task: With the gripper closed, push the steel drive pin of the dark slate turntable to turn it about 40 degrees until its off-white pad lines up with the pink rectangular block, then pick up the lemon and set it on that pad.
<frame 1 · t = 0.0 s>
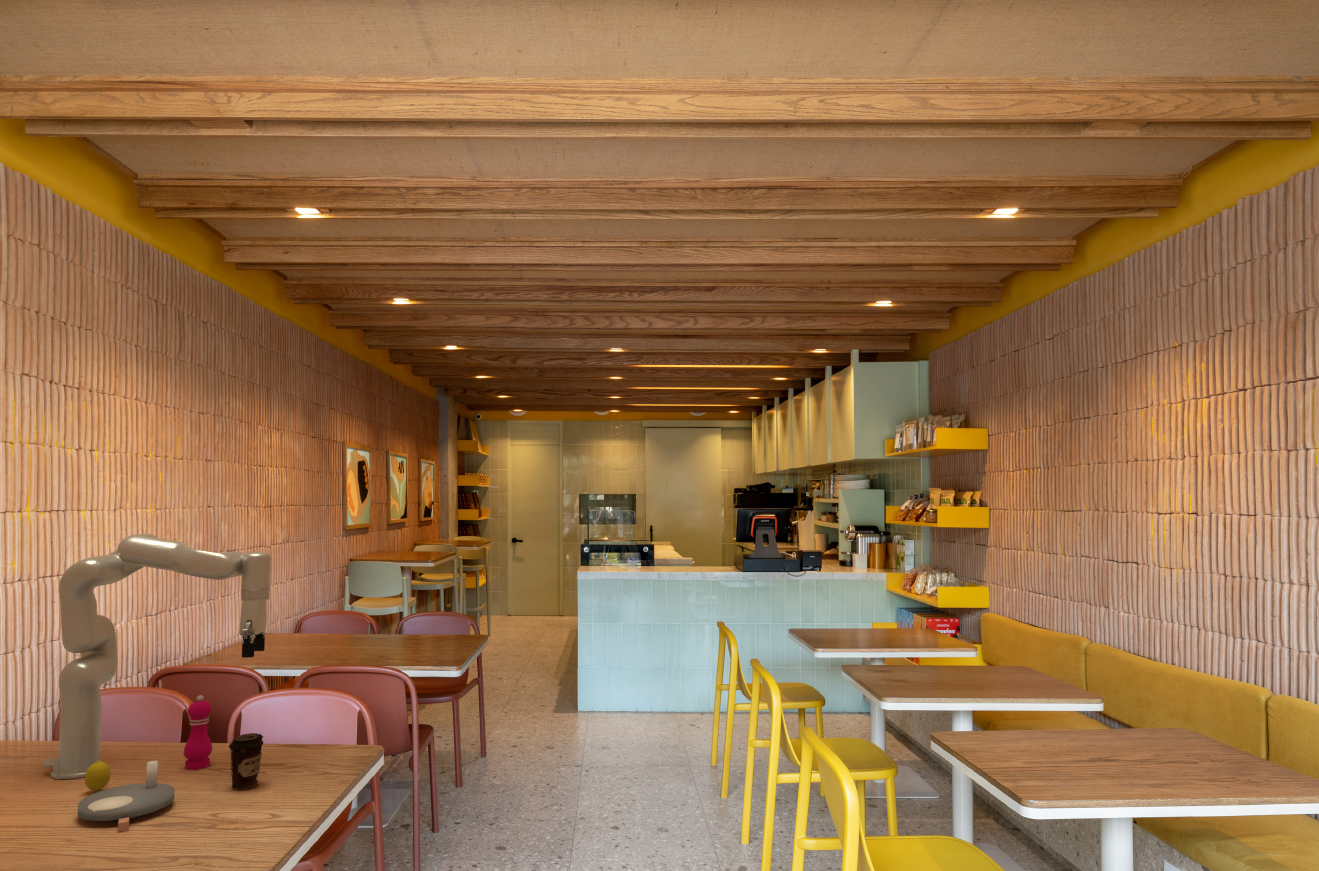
hand: (253, 654, 242), 31 cm above the table, tool pointing down, fingers open, 9 cm apart
coffee cup: (245, 787, 221), on the table
pepper mill: (197, 767, 238), on the table
lemon: (96, 792, 217), on the table
turntable base: (126, 811, 204), on the table
pink rectangular block: (123, 829, 193), on the table
turntable: (127, 788, 204), point 5 cm above the table, hinge at 0.0°
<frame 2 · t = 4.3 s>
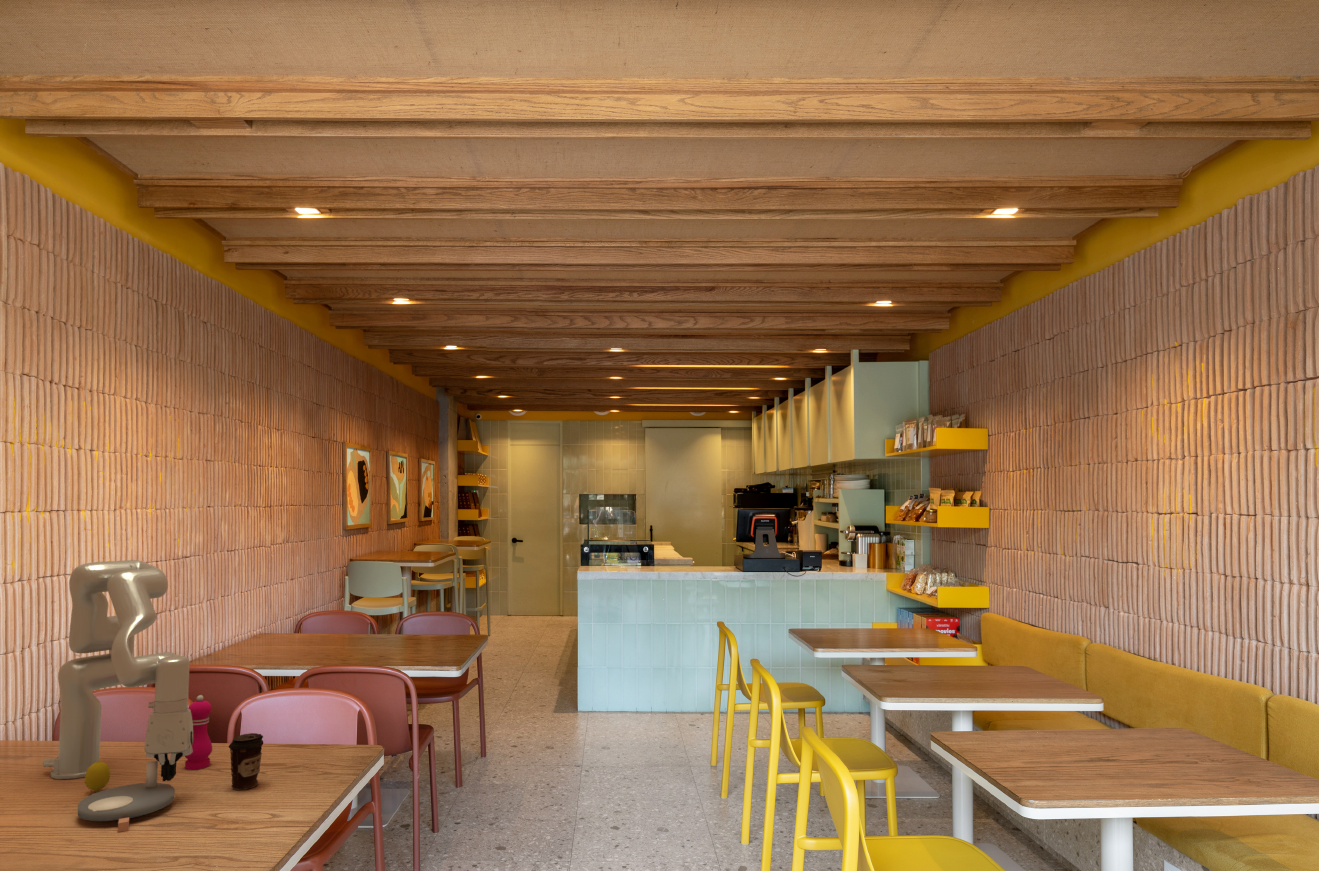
hand: (168, 779, 212), 5 cm above the table, tool pointing down, fingers closed
turntable: (127, 788, 204), point 5 cm above the table, hinge at 0.4°, touching gripper
everything else where it was.
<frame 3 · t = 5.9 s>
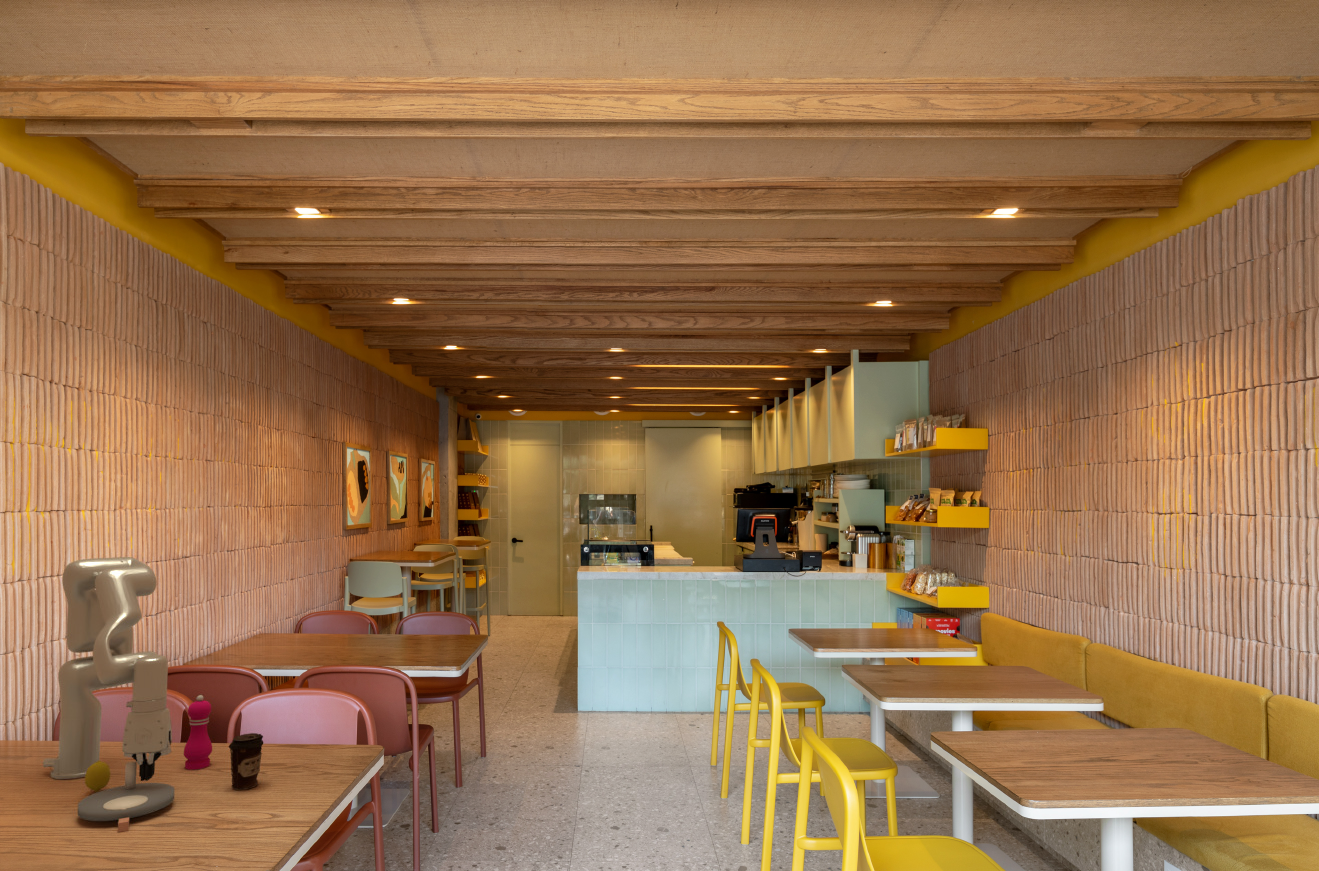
hand: (146, 779, 211), 5 cm above the table, tool pointing down, fingers closed
turntable: (127, 788, 204), point 5 cm above the table, hinge at 38.9°, touching gripper
everything else where it was.
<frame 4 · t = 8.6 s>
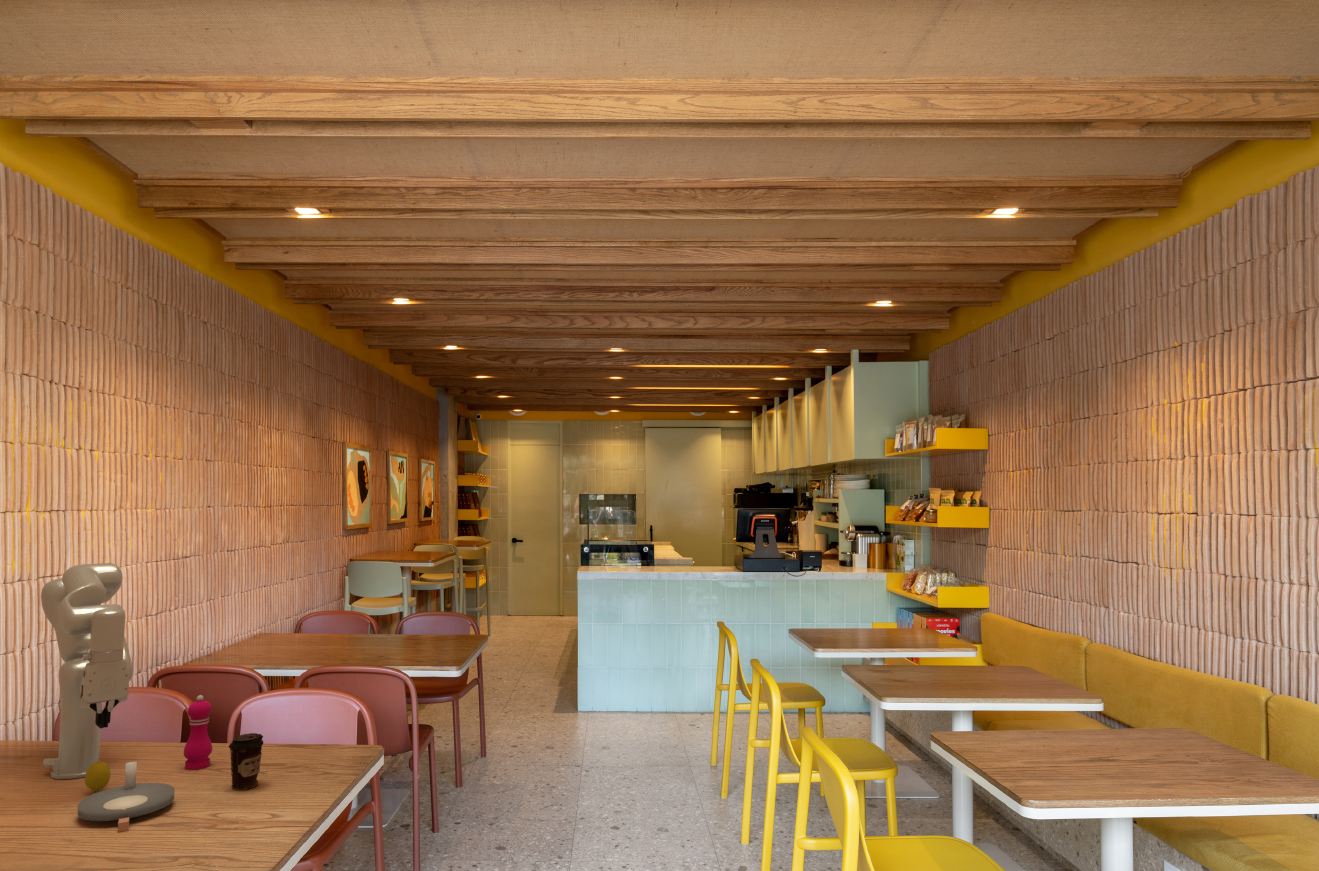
hand: (102, 726, 219), 17 cm above the table, tool pointing down, fingers closed
turntable: (127, 788, 204), point 5 cm above the table, hinge at 38.9°
everything else where it was.
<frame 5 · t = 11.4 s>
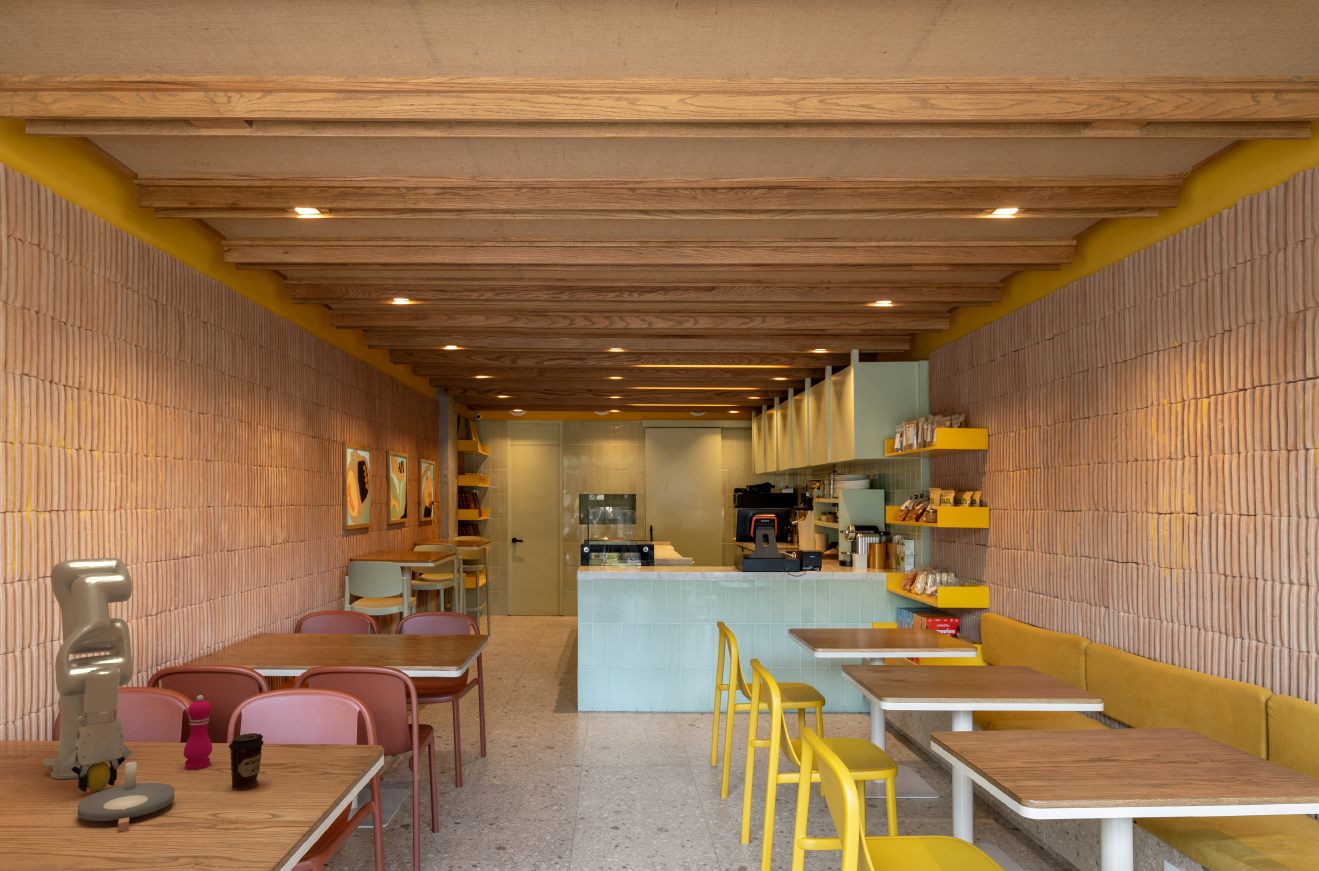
hand: (97, 786, 217), 1 cm above the table, tool pointing down, fingers closed on lemon, 5 cm apart
lemon: (96, 792, 217), on the table, touching gripper
everything else where it was.
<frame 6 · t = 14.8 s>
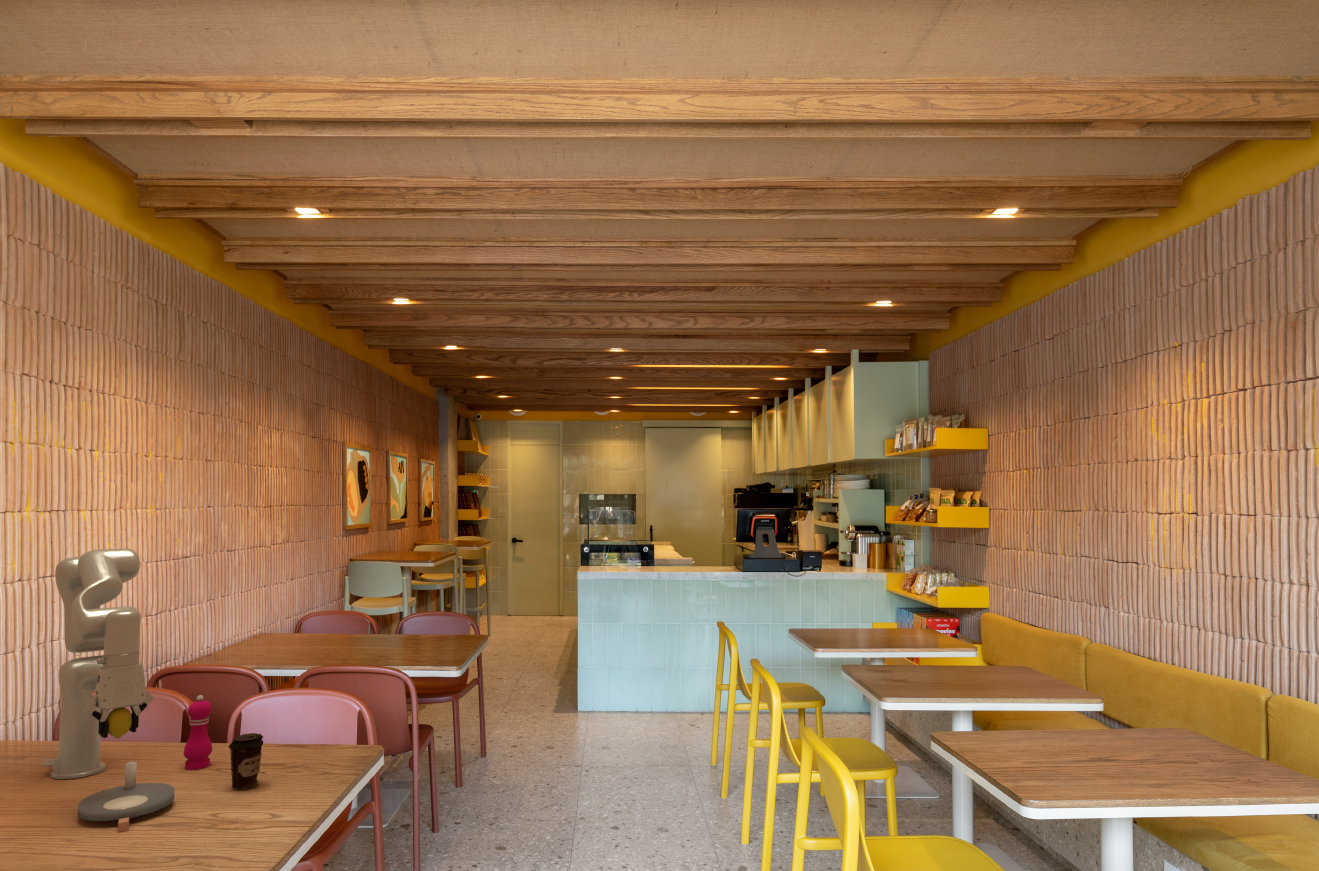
hand: (118, 733, 207), 18 cm above the table, tool pointing down, fingers closed on lemon, 5 cm apart
lemon: (118, 739, 207), point 17 cm above the table, touching gripper
everything else where it was.
when the fingers open (7 cm above the table, at t = 17.9 s): lemon drops 2 cm, resting on turntable.
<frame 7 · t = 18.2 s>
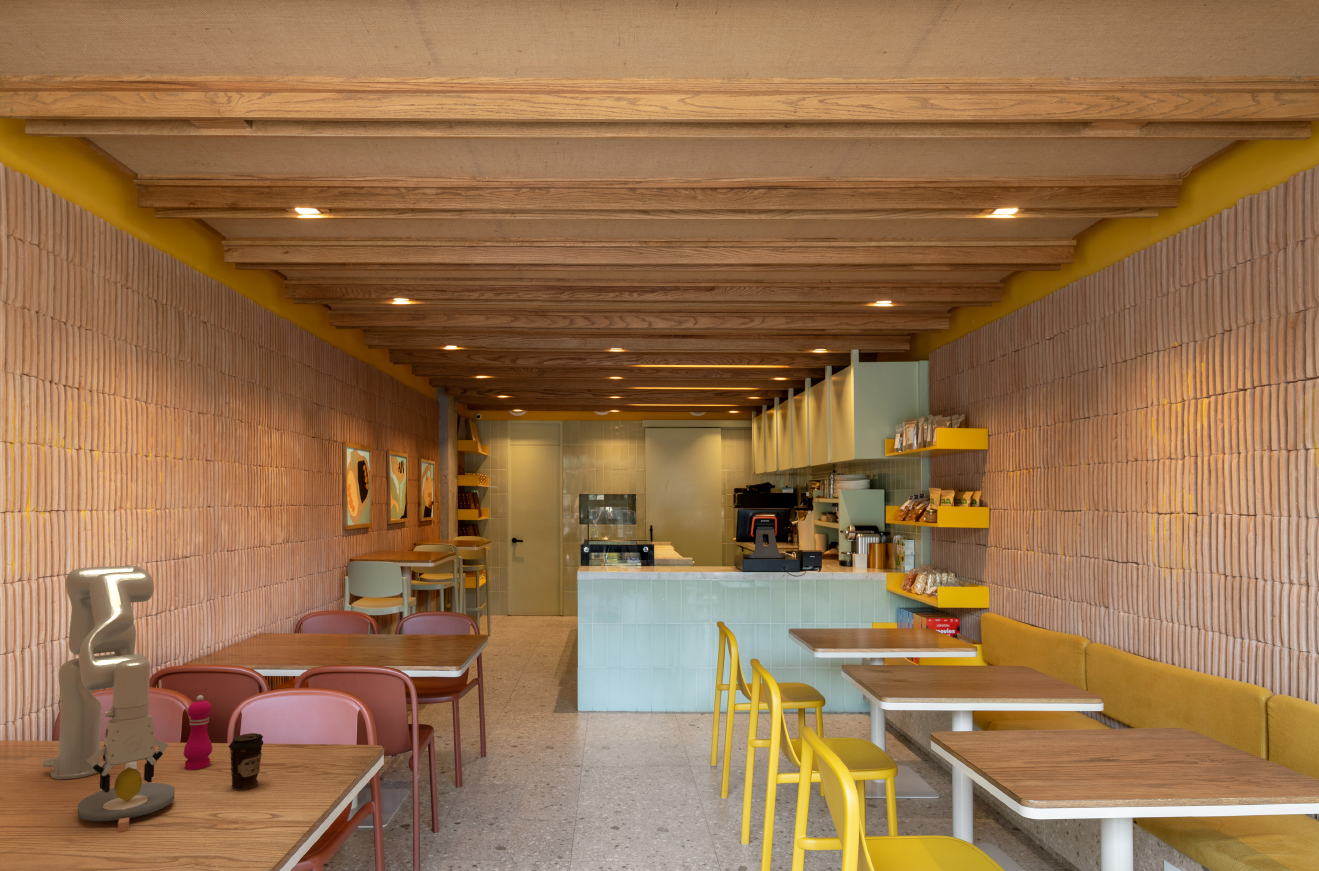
hand: (126, 785, 200), 8 cm above the table, tool pointing down, fingers open, 8 cm apart
lemon: (127, 802, 200), point 4 cm above the table, touching turntable
turntable: (127, 788, 204), point 5 cm above the table, hinge at 38.7°, touching lemon
everything else where it was.
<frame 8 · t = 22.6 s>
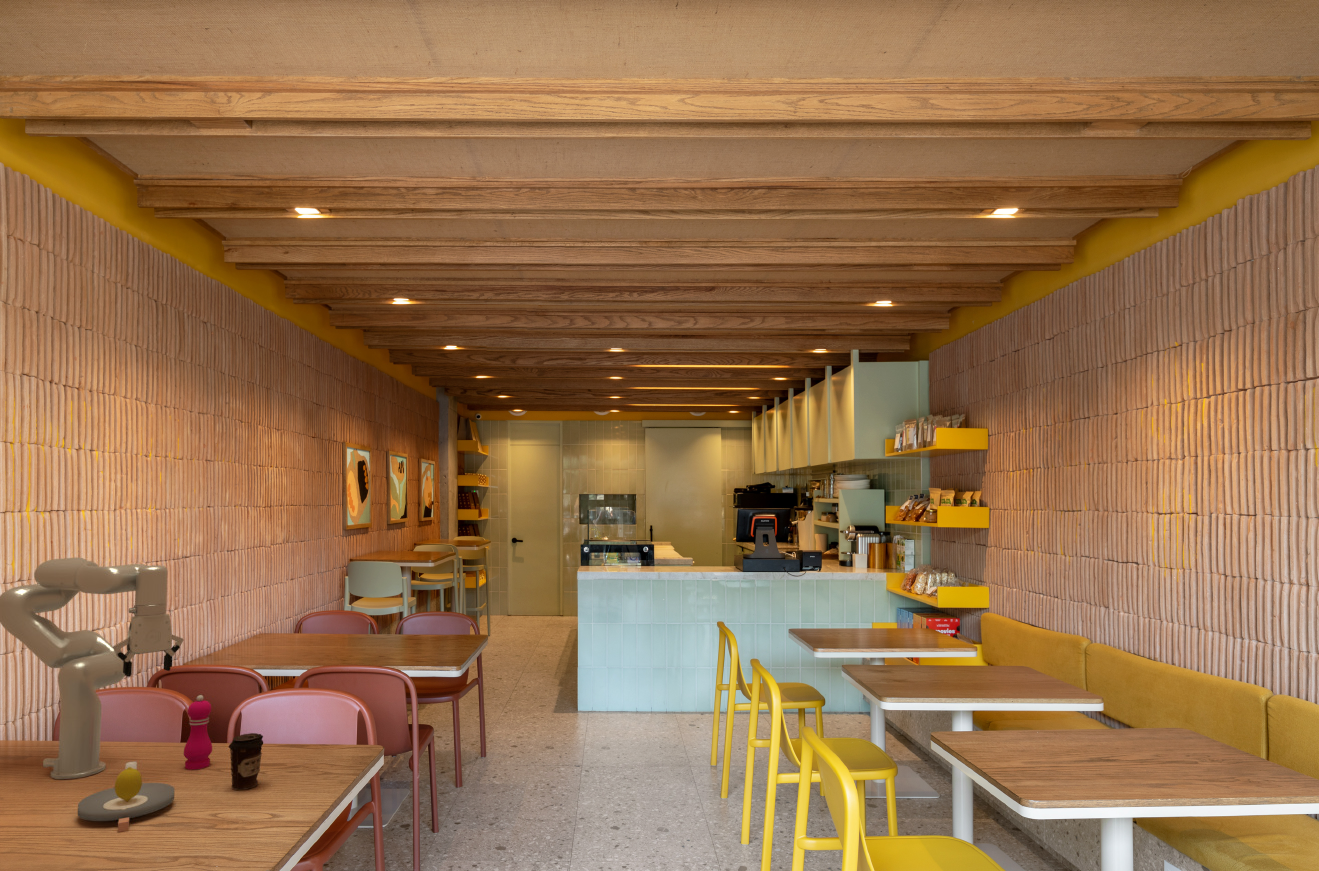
hand: (147, 673, 230), 28 cm above the table, tool pointing down, fingers open, 9 cm apart
nothing on the table moved.
at the end: turntable at +39° (first picture: +0°); lemon inside the target area (0.4 cm from its centre), point 3.6 cm above the table; lemon touching turntable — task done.
